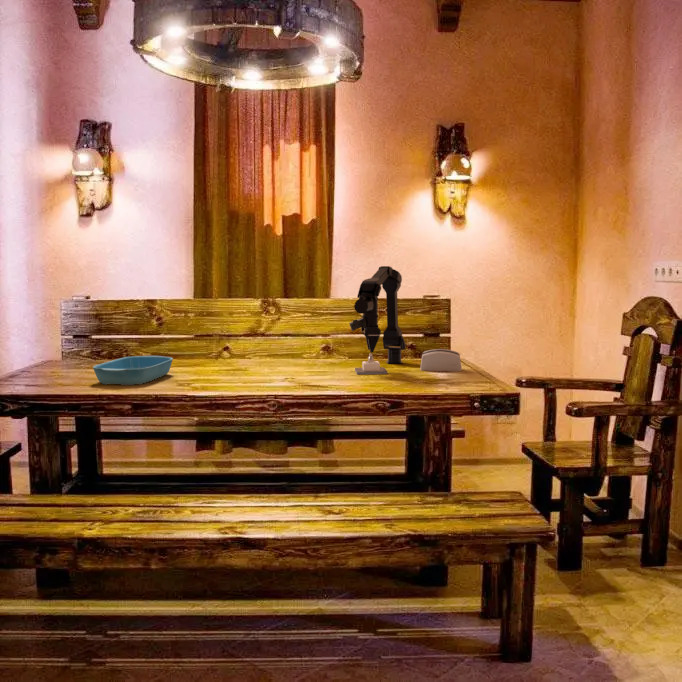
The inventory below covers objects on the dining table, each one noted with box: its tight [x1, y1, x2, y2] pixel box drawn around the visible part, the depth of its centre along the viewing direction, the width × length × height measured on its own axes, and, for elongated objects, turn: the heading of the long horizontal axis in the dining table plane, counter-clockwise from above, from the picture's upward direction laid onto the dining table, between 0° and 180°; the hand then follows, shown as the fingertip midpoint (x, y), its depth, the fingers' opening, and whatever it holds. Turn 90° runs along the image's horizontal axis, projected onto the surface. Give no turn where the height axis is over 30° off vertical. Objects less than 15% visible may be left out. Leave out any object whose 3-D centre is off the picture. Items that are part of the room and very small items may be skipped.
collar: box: [361, 360, 381, 371], centre depth 292 cm, size 6×6×3 cm
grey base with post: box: [354, 353, 388, 376], centre depth 292 cm, size 12×12×8 cm
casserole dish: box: [92, 355, 174, 386], centre depth 279 cm, size 37×22×7 cm, turn 170°
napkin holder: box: [419, 348, 462, 372], centre depth 296 cm, size 17×5×10 cm, turn 80°
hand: (370, 351), depth 292 cm, fingers open, 9 cm apart
